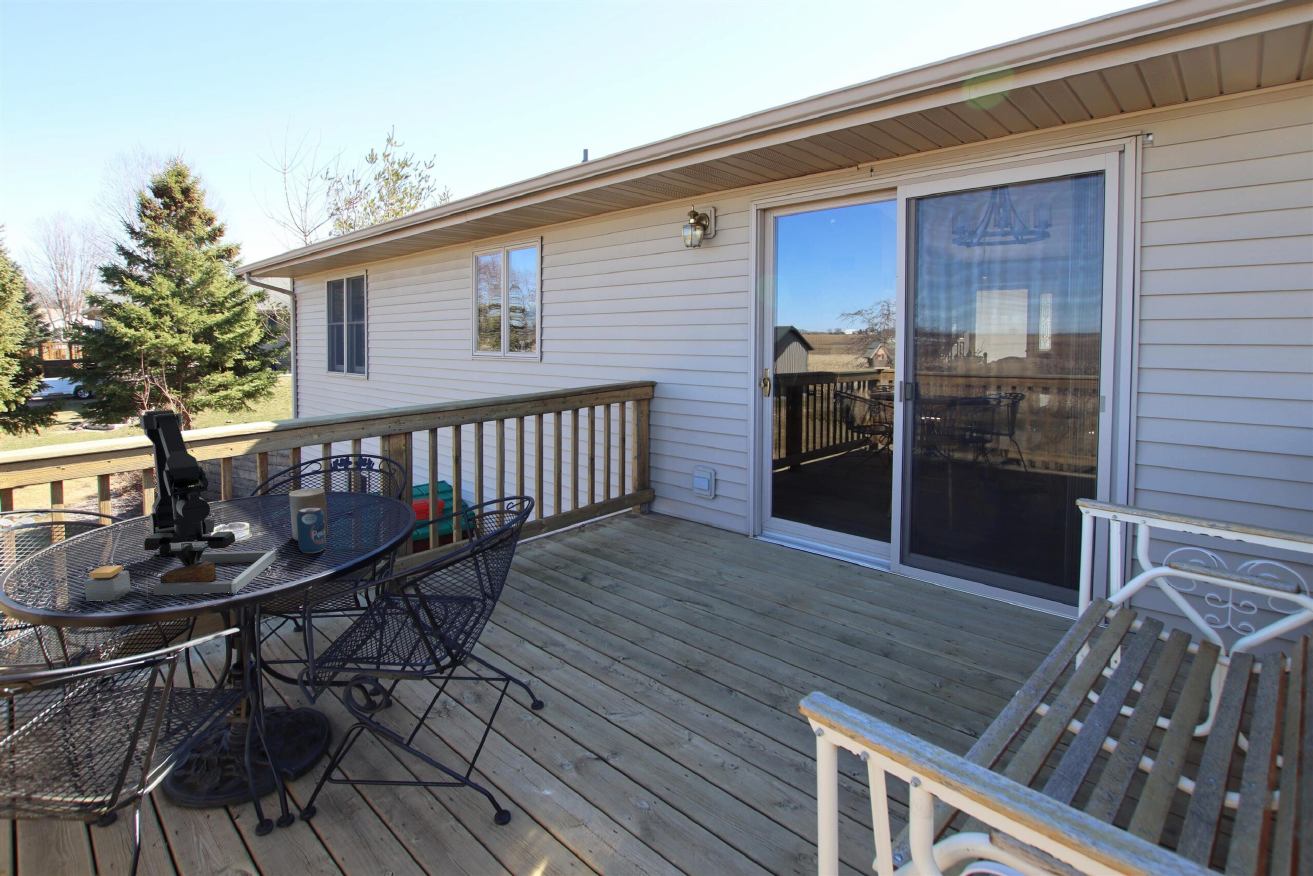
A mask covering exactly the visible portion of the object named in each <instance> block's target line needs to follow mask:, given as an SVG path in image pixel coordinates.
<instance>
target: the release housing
mask: <svg viewBox="0 0 1313 876" xmlns="http://www.w3.org/2000/svg"><path fill="white" fill-rule="evenodd" d="M130 577H131V576H130V571H129V570H123V571H121V572H119V573H118V574H116V576H114V577H112V578H111V579H98V578H90V577H89V578H87V579H85V580H84V581H83V586H84V595H85V599H86V600H85V602H86V601H89V600H101V601H102V600H103V601H102V602H108V601H107V600H116V599H118V598H119V599H121V598H122V597H124V596H125V595H124V594H126V593H127V592H129V591H130V592H131V591H132V587H131V586H132V585H131V580H130V579H131V578H130ZM130 592H129V593H130ZM127 594H128V593H127ZM127 594H126V595H127ZM123 595H124V596H123ZM121 596H122V597H121ZM120 597H121V598H120ZM119 599H118V600H119ZM116 601H117V600H116Z"/></svg>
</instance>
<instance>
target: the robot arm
mask: <svg viewBox="0 0 1313 876" xmlns="http://www.w3.org/2000/svg"><path fill="white" fill-rule="evenodd" d="M139 425H140V428H141V429H142V430H143V434H144V436H145V437H146V438H148V440H150V441H151V443H152V450H153V451H152V452H153V459H154V469H155V477H156V486H157V487H156V490H157V497H156V499H155V500H154V501H153V503H152V505H151V510H152V512H151V513H150V515H149V523H148V526H149V527H148V528H149V532H150V533H151V535H150V536H148V537H145V538H144V540H143V543H142V544H143V545H142V547H143V551H157V552H154V553H153V556H154V557H162V556H175V557H177V559H179V561H180V562H181V563H182V565H183V567H185V566H188V565H192V564H196V563H200V562H201V556H202V553H203V552H204V551H205V550H207V549H208V548H210V549H212V550H215V549H217V550H219V549H226V548H228V547H229V546H232V544H233V543H235V542H236V535H235V533H233V531H231V530H230V531H229V530H228V531H227V530H226V531H216V532H215V533H214V531H215V523H216V522H215V520H214V519H207V518H208V516H209V515H210V512H211V507H210V505H209V503H208V502H207V501H206V500H205V499H204V498H202V494H201V493H203V492H208V487H209V481H208V477H207V475H206V471H205V469H203V467H202V466H201V465H199V462H198V460H197V458H196V457H195V456H193V455H191V454H190V453H188V450H187V447H186V443H185V440H184V437H183V434H182V431H181V429H180V427H183V420H182V413H177V412H176V413H175V412H174V410H173V409H164V410H163V409H161V410H147V411H144V414H143V415H140V416H139ZM209 533H212V534H211V535H207V534H209Z"/></svg>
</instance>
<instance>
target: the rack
mask: <svg viewBox="0 0 1313 876" xmlns="http://www.w3.org/2000/svg"><path fill="white" fill-rule="evenodd" d="M276 560H277V554H276V550H249V551H247V550H245V551H241V550H240V551H209V552H204V551H203V553H202V556H201V558H200V562H203V561H209V562H212V563H214V564H225V563H227V564H230V563H252V564H251V565H250V566H249V567H247V568H246V569H245V570H244V571H243V572H242V573H240V574H239V575H238V576H236V577H235V578H233V580H229V581H226V580H225V581H212V582H191V583H161V582H160V583H156V584H155V583H154V585H153V586H152V587H153V588H152V591H153V596H154V595H171V594H173V596H179V595H178V594H198V593H199V594H200V593H221V592H224V593H228V592H229V593H233V594H238V593H239V592H240V591H241V590H243V588H245V587H246V586H248V584H250V583H251V582H252V581H253V580H254V579H255V578H257V577H258V576H259V575H261V574H262V572H263V571H265V569H267V568H268V567H269V566H270V565H272V564H273V563H274V562H275V561H276ZM244 586H245V587H244ZM240 589H241V590H240ZM239 590H240V591H239ZM238 591H239V592H238ZM237 592H238V593H237ZM175 594H176V595H175Z"/></svg>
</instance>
